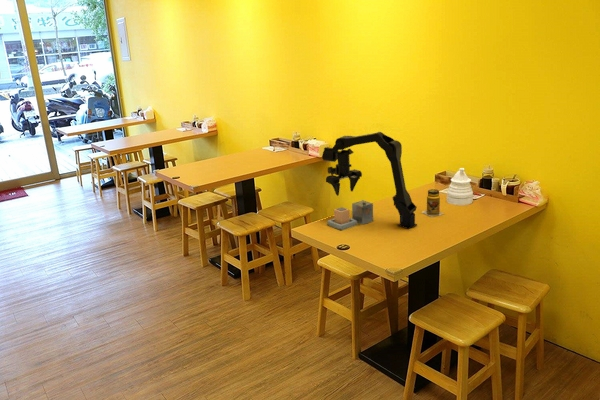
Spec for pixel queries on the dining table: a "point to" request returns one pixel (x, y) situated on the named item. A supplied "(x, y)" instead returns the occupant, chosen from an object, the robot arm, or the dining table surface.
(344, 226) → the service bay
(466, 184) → the honey pot
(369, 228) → the dining table surface
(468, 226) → the dining table surface
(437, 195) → the condiment
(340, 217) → the block
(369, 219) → the junction box
